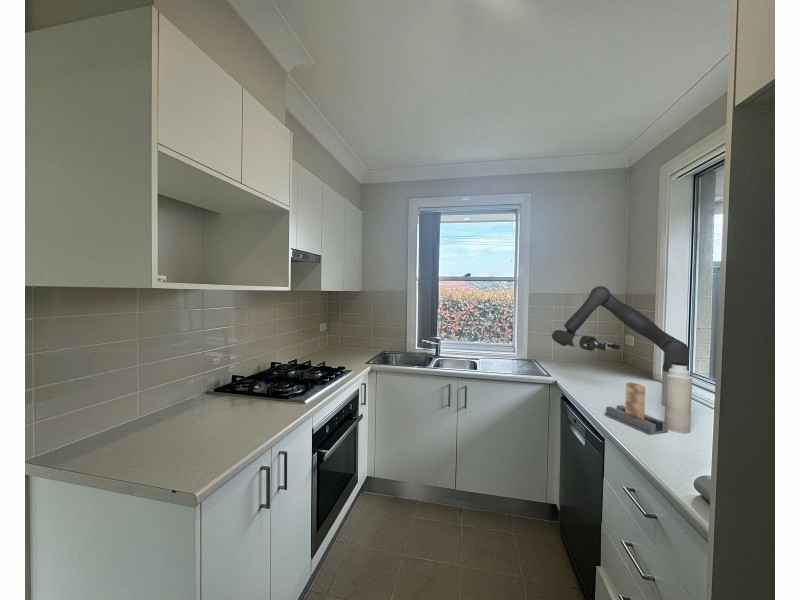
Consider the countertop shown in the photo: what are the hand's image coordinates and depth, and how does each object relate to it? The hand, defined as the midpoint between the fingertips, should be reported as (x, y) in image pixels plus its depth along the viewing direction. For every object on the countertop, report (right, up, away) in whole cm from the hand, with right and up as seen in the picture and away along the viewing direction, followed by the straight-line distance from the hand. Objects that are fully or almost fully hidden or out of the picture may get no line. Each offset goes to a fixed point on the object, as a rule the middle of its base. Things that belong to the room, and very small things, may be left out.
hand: (612, 347), depth 151 cm
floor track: (-1, -30, -15) cm, 34 cm away
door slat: (-1, -29, -15) cm, 33 cm away
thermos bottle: (+13, -31, -20) cm, 39 cm away
